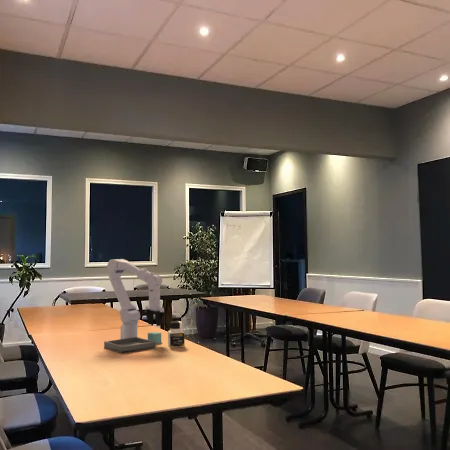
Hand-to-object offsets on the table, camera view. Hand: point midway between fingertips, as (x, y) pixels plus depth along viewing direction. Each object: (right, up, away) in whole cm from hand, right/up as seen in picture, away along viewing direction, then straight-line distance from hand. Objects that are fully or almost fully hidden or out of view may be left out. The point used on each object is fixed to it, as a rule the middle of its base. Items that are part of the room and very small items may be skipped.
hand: (154, 325), depth 237 cm
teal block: (0, -9, -1) cm, 9 cm away
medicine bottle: (+12, -8, -10) cm, 18 cm away
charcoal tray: (-10, -8, -13) cm, 19 cm away
